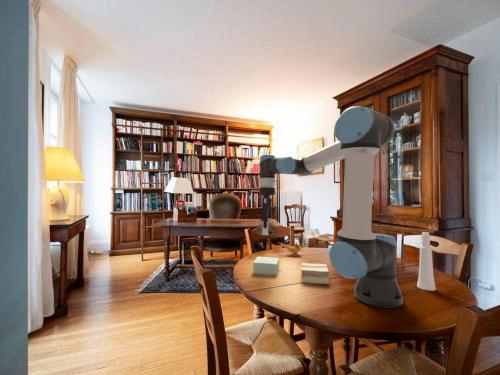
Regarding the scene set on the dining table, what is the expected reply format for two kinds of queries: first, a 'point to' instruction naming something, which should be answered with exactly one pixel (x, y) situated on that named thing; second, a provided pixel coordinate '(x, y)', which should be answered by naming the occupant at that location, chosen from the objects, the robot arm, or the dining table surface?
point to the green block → (266, 265)
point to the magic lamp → (294, 248)
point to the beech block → (315, 273)
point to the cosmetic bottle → (426, 265)
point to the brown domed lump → (271, 228)
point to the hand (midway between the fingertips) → (266, 233)
